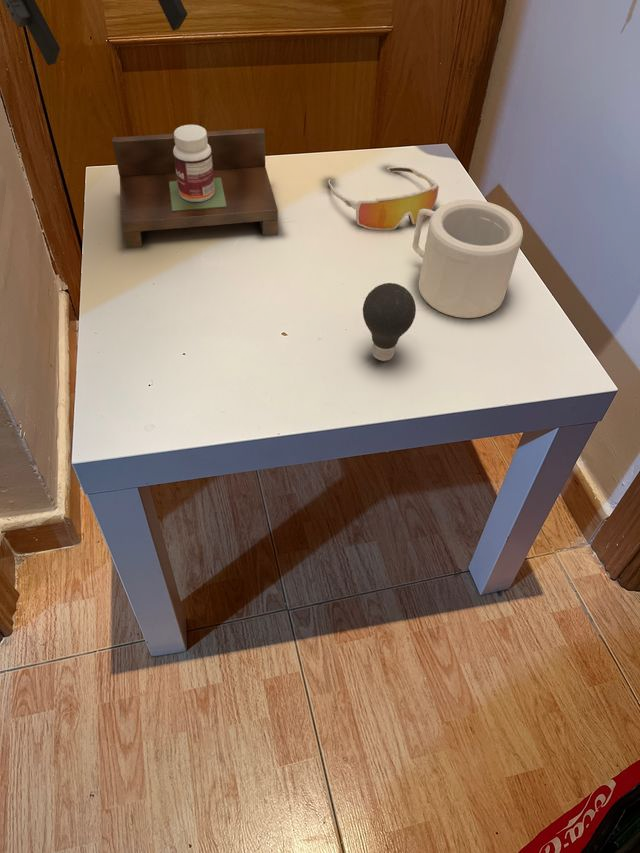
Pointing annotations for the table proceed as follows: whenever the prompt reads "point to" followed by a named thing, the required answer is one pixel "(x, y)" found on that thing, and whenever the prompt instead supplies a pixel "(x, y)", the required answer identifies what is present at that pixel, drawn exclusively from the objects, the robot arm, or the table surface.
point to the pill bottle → (193, 163)
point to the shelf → (159, 196)
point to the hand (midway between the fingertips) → (120, 39)
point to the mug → (467, 256)
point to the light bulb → (388, 317)
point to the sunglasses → (392, 205)
